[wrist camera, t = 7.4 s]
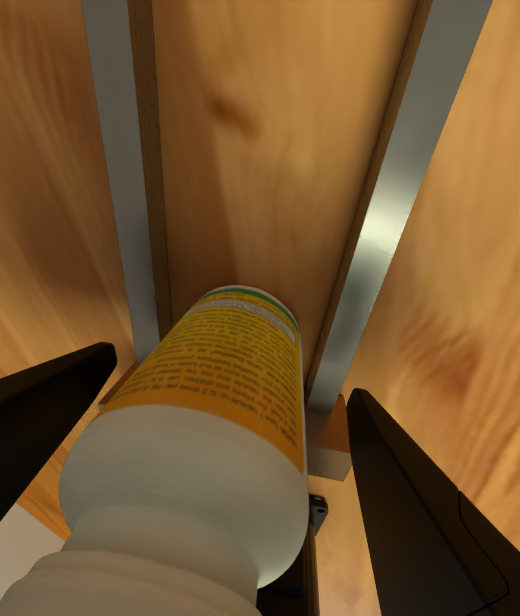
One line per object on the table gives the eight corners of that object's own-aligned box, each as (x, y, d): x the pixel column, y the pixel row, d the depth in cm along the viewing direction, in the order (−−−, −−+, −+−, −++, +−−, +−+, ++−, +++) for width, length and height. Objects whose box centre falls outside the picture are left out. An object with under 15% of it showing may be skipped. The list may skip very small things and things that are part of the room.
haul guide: (333, 422, 13) (343, 481, 10) (142, 385, 14) (106, 433, 11) (617, -276, 4) (1167, -1059, 2) (38, -294, 5) (-274, -878, 2)
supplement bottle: (305, 375, 12) (335, 845, 3) (205, 379, 13) (35, 752, 4) (294, 273, 10) (306, 958, 1) (173, 287, 11) (-318, 702, 2)
